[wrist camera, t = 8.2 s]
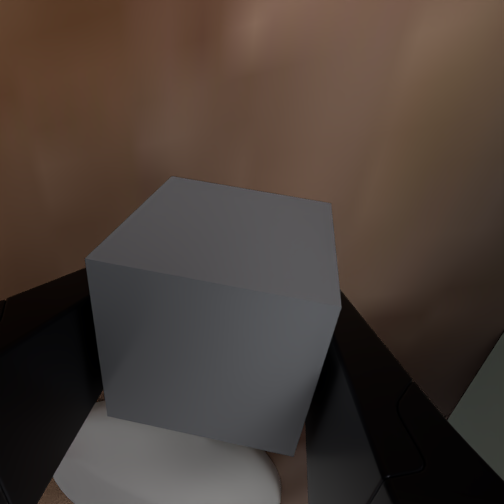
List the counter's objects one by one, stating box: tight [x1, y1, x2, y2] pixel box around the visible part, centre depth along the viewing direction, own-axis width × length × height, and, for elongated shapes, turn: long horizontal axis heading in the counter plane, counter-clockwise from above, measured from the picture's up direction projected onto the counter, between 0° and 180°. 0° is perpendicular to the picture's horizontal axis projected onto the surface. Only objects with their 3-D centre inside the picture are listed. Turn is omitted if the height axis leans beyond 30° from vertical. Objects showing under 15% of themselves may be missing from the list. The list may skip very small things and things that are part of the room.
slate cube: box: [85, 176, 342, 457], centre depth 8 cm, size 4×4×4 cm
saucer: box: [53, 400, 281, 504], centre depth 16 cm, size 10×10×1 cm
